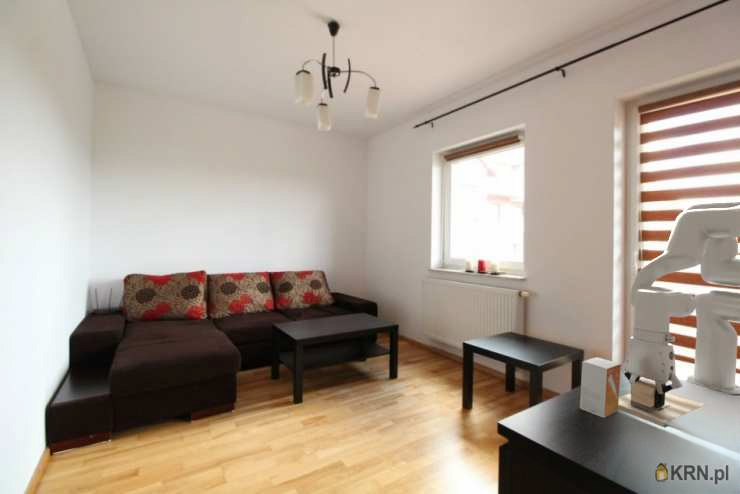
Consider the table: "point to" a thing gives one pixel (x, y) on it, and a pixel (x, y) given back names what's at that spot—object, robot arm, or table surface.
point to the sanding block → (643, 394)
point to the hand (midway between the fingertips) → (647, 402)
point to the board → (668, 412)
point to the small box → (600, 386)
